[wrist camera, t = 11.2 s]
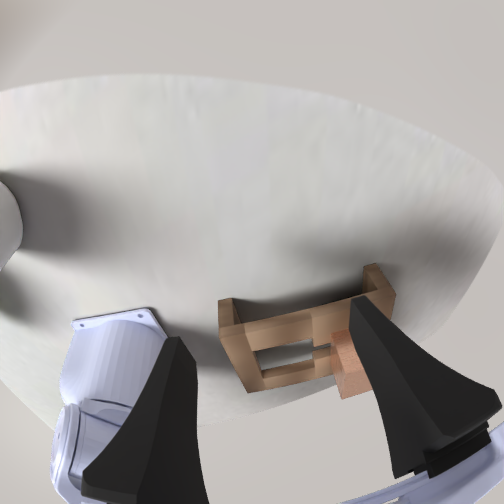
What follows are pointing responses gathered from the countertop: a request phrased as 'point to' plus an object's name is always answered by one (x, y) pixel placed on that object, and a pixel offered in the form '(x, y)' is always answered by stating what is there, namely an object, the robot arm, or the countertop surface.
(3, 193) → the can
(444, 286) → the countertop surface
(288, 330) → the keyhole plate
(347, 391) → the peg
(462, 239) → the countertop surface
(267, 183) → the countertop surface
